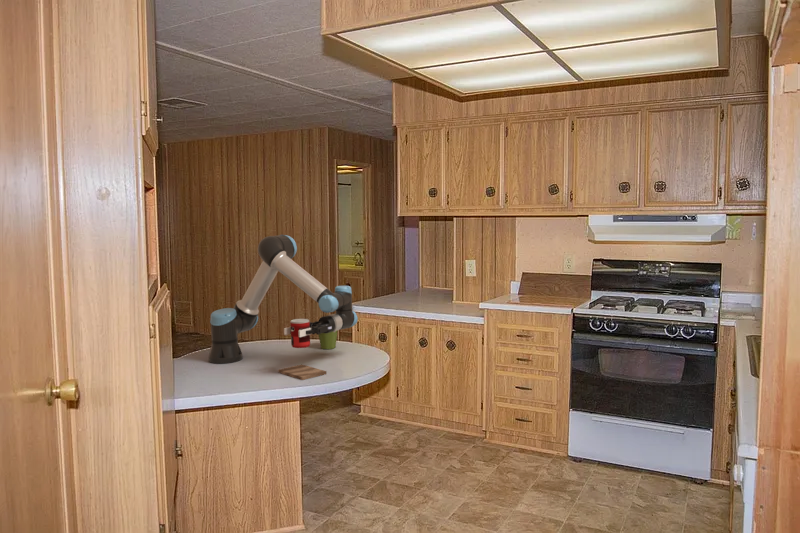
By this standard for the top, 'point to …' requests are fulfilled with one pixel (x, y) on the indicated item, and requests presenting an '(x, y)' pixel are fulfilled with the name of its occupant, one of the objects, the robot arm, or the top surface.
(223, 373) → the top surface
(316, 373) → the walnut board
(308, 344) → the canned food
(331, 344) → the plant pot
